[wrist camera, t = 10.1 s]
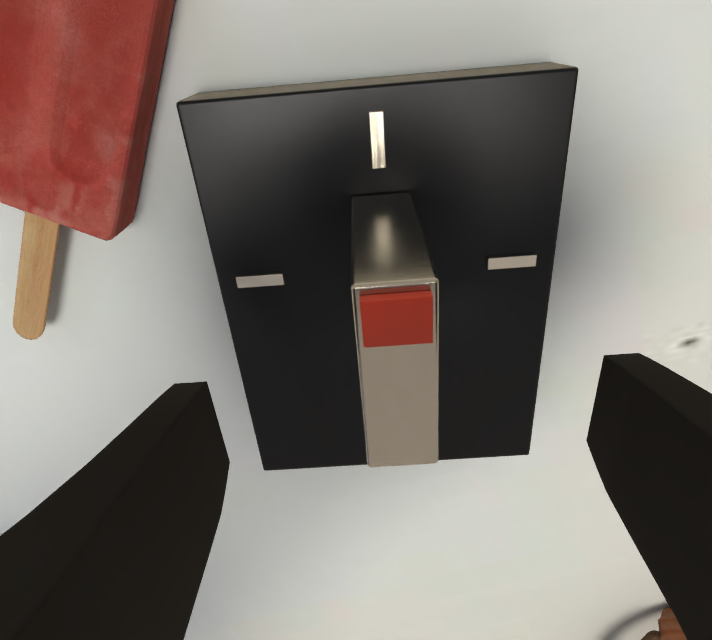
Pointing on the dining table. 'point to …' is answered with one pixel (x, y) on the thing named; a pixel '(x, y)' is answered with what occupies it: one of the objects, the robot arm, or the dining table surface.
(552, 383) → the dining table surface
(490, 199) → the knob box
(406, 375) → the knob
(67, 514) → the robot arm
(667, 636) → the pottery mug
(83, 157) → the popsicle
